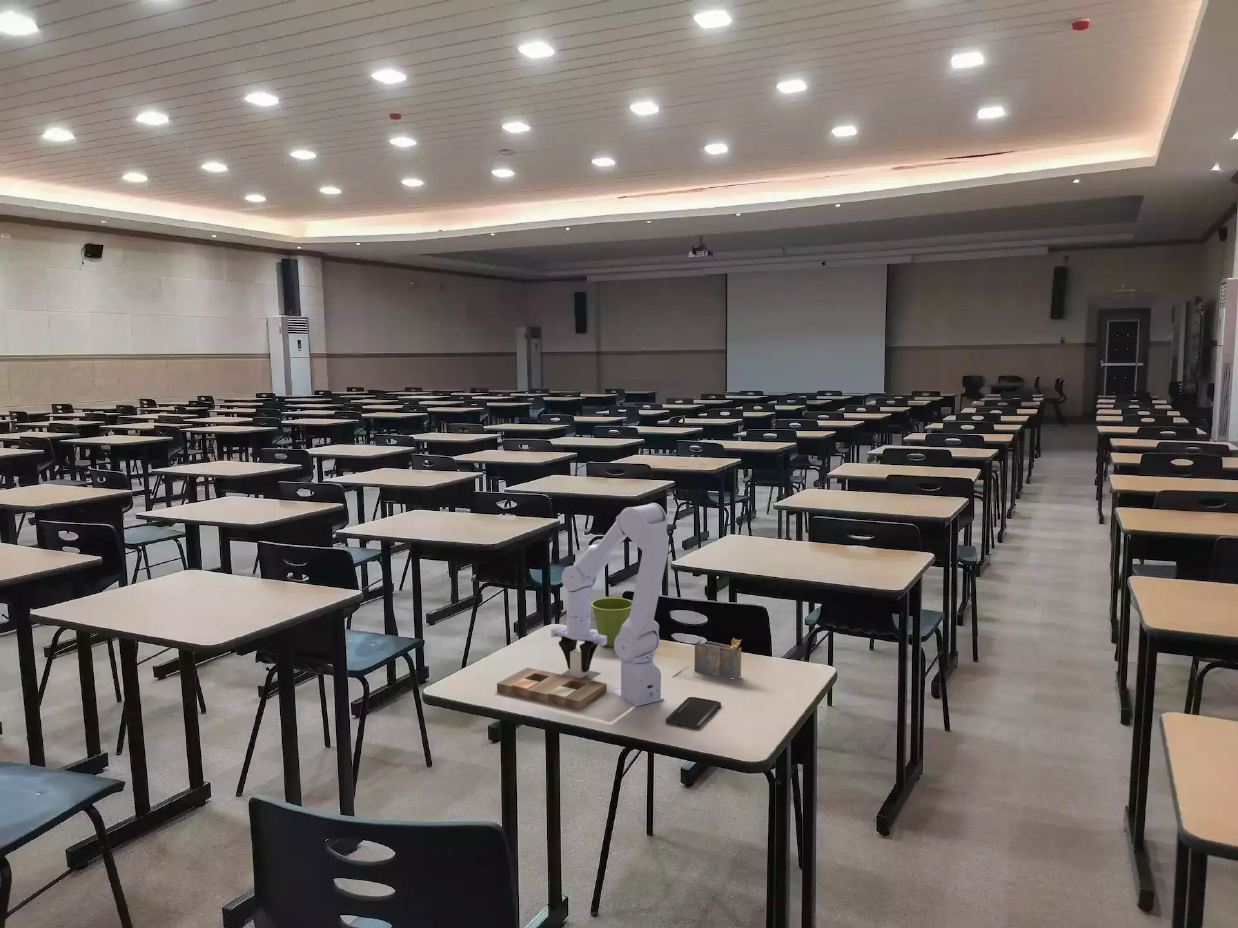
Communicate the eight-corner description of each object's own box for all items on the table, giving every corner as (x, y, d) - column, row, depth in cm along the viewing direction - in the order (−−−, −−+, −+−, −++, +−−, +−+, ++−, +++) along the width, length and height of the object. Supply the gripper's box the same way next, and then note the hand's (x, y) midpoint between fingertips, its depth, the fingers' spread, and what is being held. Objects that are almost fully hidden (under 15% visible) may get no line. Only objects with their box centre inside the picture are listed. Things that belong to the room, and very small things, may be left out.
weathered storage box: (741, 677, 205) (742, 639, 204) (736, 681, 202) (736, 642, 201) (700, 668, 211) (700, 631, 210) (694, 672, 208) (695, 634, 207)
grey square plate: (601, 675, 205) (601, 672, 205) (584, 685, 198) (584, 683, 198) (573, 669, 208) (573, 667, 208) (555, 679, 201) (555, 677, 201)
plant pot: (581, 643, 229) (581, 603, 227) (611, 634, 237) (611, 595, 236) (613, 653, 221) (613, 611, 220) (643, 643, 230) (643, 602, 228)
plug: (587, 674, 204) (587, 650, 203) (580, 678, 201) (580, 653, 200) (576, 672, 205) (576, 648, 204) (570, 675, 202) (570, 651, 202)
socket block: (606, 693, 193) (606, 682, 192) (579, 712, 182) (579, 700, 182) (526, 677, 203) (526, 666, 203) (497, 693, 192) (496, 682, 192)
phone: (722, 701, 187) (698, 726, 173) (722, 706, 187) (698, 731, 173) (689, 695, 190) (663, 719, 177) (689, 700, 190) (663, 724, 177)
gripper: (613, 614, 202) (613, 669, 203) (561, 606, 208) (561, 659, 210) (598, 622, 195) (598, 678, 197) (546, 613, 202) (546, 668, 204)
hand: (578, 669), depth 203 cm, fingers open, 3 cm apart
